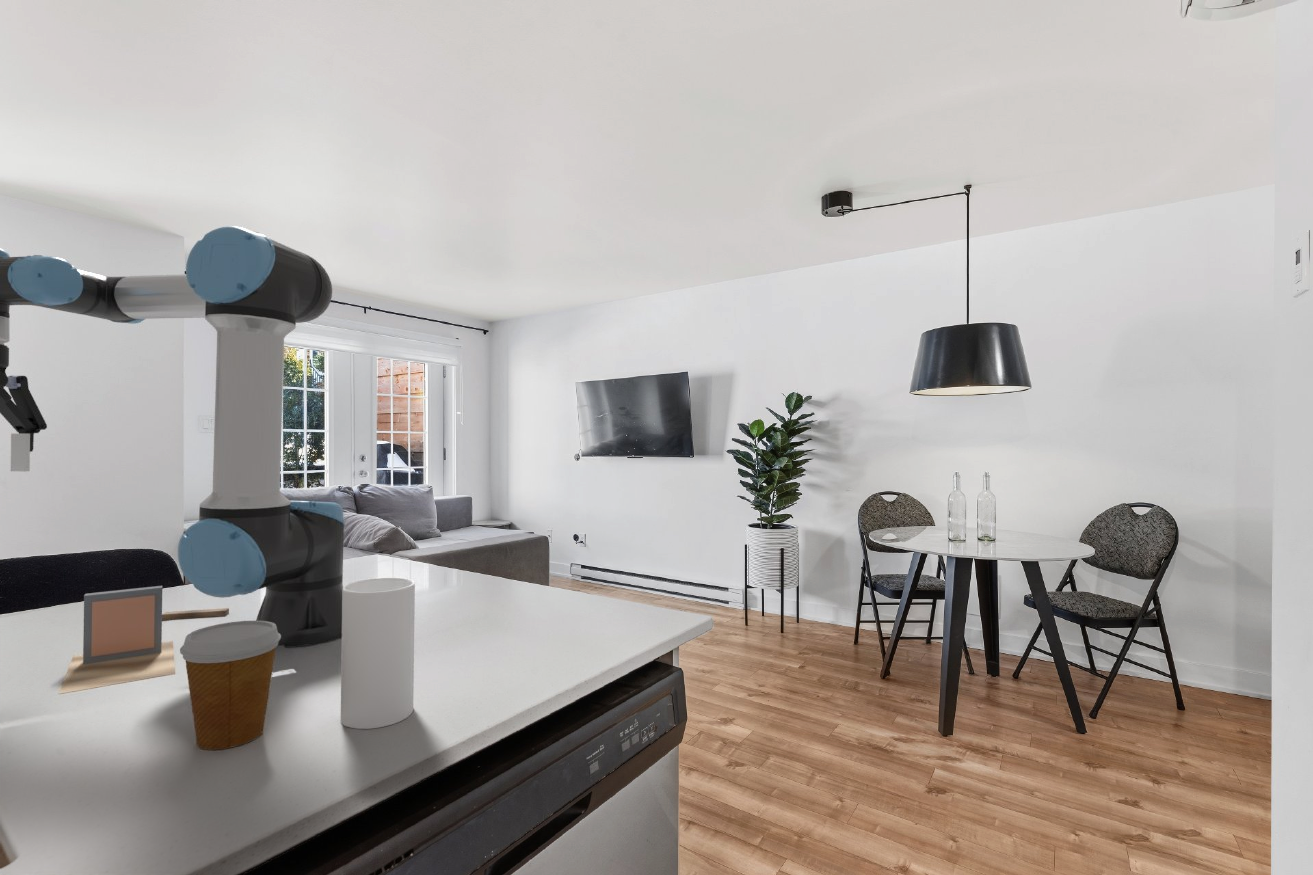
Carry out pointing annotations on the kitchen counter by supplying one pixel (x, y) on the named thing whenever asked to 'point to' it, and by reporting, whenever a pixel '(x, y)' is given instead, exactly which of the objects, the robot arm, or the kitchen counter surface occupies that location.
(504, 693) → the kitchen counter surface
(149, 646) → the tile
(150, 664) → the board
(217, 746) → the disposable coffee cup
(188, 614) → the turner
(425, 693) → the kitchen counter surface
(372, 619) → the cup
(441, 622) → the kitchen counter surface
